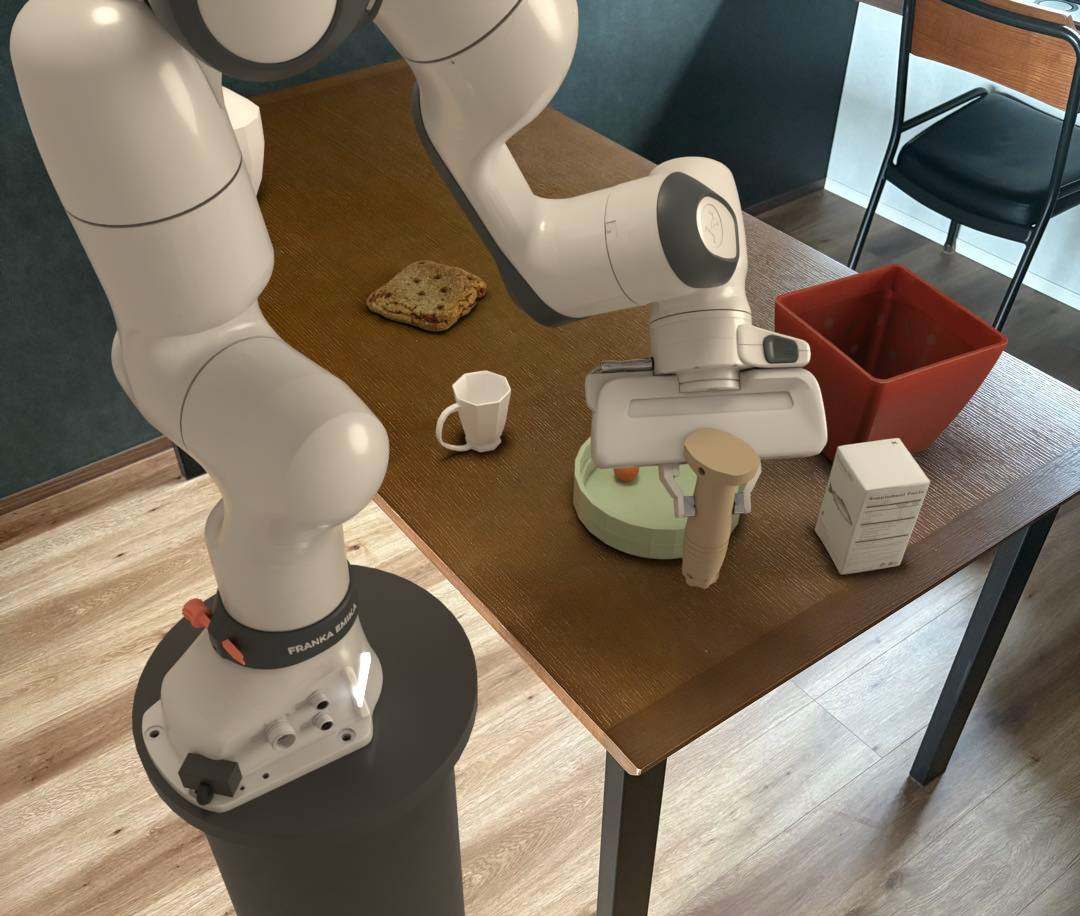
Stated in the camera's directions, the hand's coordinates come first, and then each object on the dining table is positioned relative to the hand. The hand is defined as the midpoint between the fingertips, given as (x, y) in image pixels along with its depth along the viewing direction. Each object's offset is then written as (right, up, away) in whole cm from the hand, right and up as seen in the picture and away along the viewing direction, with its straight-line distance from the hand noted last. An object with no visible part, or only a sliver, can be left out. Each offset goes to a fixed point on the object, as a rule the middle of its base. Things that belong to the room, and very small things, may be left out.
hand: (713, 515), depth 93 cm
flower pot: (+25, +11, +42) cm, 49 cm away
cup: (-23, +9, +39) cm, 46 cm away
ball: (-5, +6, +33) cm, 34 cm away
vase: (-65, +53, +82) cm, 118 cm away
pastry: (-31, +32, +62) cm, 76 cm away
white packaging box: (+20, -3, +27) cm, 34 cm away
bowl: (-1, +2, +32) cm, 32 cm away
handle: (0, -6, +6) cm, 9 cm away
